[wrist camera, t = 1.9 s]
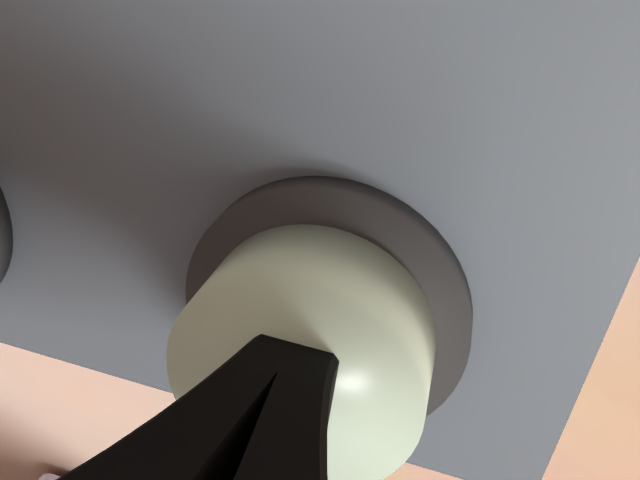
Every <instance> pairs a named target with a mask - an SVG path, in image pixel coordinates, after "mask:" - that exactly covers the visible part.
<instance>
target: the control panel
mask: <svg viewBox="0 0 640 480" xmlns="http://www.w3.org/2000/svg"><path fill="white" fill-rule="evenodd" d="M296 224H309V225H321V226H327V227H332V228H336V229H340V230H343V231H346V232H350V233H352V234H355V235H357V236H359V237H362V238H364V239H366V240H368V241H370V242H371V243H373V244H375V245H377V246H378V247H380V248H381V249H383V250H384V251H386V252H387V253H388V254H390V255H391V256H392V257H394V258H395V259H396V260H397V261H398V262H399V263H400V264H401V265H402V266H403V267H404V268H405V269H406V270H407V271H408V272H409V273H410V274H411V276H412V277H413V278H414V279H415V280H416V282H417V283H418V285H419V287H420V288H421V290H422V291H423V293H424V294H425V297H426V299H427V301H428V303H429V305H430V308H431V311H432V314H433V317H434V321H435V327H436V334H437V339H436V353H435V360H434V366H433V373H432V379H431V385H430V392H429V398H428V404H427V411H426V417H425V423H424V428H423V432H422V435H421V437H420V440H419V442H418V445H417V446H416V448H415V450H414V451H413V453H412V454H411V456H410V457H409V458H408V459H407V460H406V461H405V462H407V463H410V464H413V465H417V466H420V467H423V468H427V469H430V470H434V471H437V472H440V473H444V474H447V475H450V476H454V477H457V478H461V479H464V480H541V479H542V477H543V475H544V473H545V470H546V468H547V466H548V464H549V461H550V459H551V457H552V454H553V452H554V450H555V448H556V445H557V443H558V441H559V439H560V436H561V434H562V432H563V429H564V427H565V425H566V423H567V420H568V418H569V416H570V414H571V411H572V409H573V407H574V404H575V402H576V400H577V398H578V395H579V393H580V391H581V388H582V386H583V384H584V382H585V379H586V377H587V375H588V373H589V370H590V368H591V366H592V363H593V361H594V359H595V357H596V354H597V352H598V350H599V348H600V345H601V343H602V341H603V338H604V336H605V334H606V332H607V329H608V327H609V325H610V323H611V320H612V318H613V316H614V313H615V311H616V309H617V307H618V304H619V302H620V300H621V298H622V295H623V293H624V291H625V288H626V286H627V284H628V282H629V279H630V277H631V275H632V272H633V270H634V268H635V266H636V263H637V261H638V259H639V257H640V0H0V342H1V343H4V344H8V345H11V346H15V347H18V348H21V349H25V350H28V351H31V352H35V353H38V354H42V355H45V356H48V357H52V358H55V359H58V360H62V361H65V362H69V363H72V364H75V365H79V366H82V367H86V368H89V369H92V370H96V371H99V372H102V373H106V374H109V375H113V376H116V377H119V378H123V379H126V380H129V381H133V382H136V383H140V384H143V385H146V386H150V387H153V388H156V389H160V390H163V391H167V392H170V393H173V392H172V389H171V386H170V383H169V378H168V374H167V366H166V350H167V343H168V339H169V335H170V331H171V329H172V327H173V325H174V322H175V320H176V319H177V317H178V316H179V314H180V313H181V311H182V310H183V309H184V307H185V306H186V305H187V304H188V303H189V301H190V300H191V299H192V298H193V296H194V295H195V294H196V293H197V292H198V290H199V289H200V288H201V287H202V286H203V284H204V283H205V282H206V281H207V280H208V278H209V277H210V276H211V275H212V274H213V272H214V271H215V270H216V269H217V268H218V266H219V265H220V264H221V263H222V262H223V260H224V259H225V258H226V257H227V256H228V255H229V254H230V253H231V252H232V251H233V250H234V248H235V247H237V246H238V245H239V244H241V243H242V242H243V241H245V240H246V239H248V238H250V237H252V236H254V235H256V234H257V233H260V232H263V231H265V230H268V229H271V228H275V227H280V226H285V225H296Z"/></svg>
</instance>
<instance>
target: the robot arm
mask: <svg viewBox="0 0 640 480" xmlns="http://www.w3.org/2000/svg"><path fill="white" fill-rule="evenodd" d="M338 367H339V360H338V359H337V357H336V356H335V354H334V353H330V352H327V351H323V350H319V349H316V348H312V347H308V346H304V345H301V344H297V343H293V342H290V341H286V340H282V339H279V338H275V337H271V336H267V335H264V334H260V335H258V336H256V337H254V338H253V339H252V340H251V341H249V342H248V343H247V344H246V345H245V346H244V347H242V348H241V349H240V350H239V351H238V352H237V353H235V354H234V355H233V356H232V357H231V358H230V359H228V360H227V361H226V362H225V363H224V364H222V365H221V366H220V367H219V368H217V369H216V370H215V371H214V372H212V373H211V374H210V375H209V376H208V377H206V378H205V379H204V380H203V381H201V382H200V383H199V384H197V385H196V386H195V387H193V388H192V389H191V390H189V391H188V392H187V393H186V394H184V395H183V396H182V397H180V398H179V399H178V400H176V401H175V402H174V403H172V404H171V405H170V406H168V407H167V408H166V409H164V410H163V411H162V412H160V413H159V414H157V415H156V416H155V417H153V418H152V419H150V420H149V421H147V422H146V423H144V424H143V425H141V426H140V427H138V428H137V429H135V430H134V431H133V432H131V433H130V434H128V435H127V436H125V437H124V438H122V439H121V440H119V441H118V442H116V443H115V444H113V445H112V446H110V447H109V448H107V449H106V450H104V451H102V452H101V453H99V454H98V455H96V456H94V457H93V458H91V459H90V460H88V461H86V462H85V463H83V464H81V465H80V466H78V467H76V468H75V469H73V470H71V471H70V472H68V473H66V474H64V475H63V476H58V475H55V474H50V473H46V474H43V475H42V476H41V477H40V478H39V479H38V480H328V475H327V428H328V422H329V417H330V411H331V406H332V400H333V394H334V389H335V383H336V378H337V372H338Z"/></svg>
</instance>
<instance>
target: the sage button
mask: <svg viewBox="0 0 640 480" xmlns="http://www.w3.org/2000/svg"><path fill="white" fill-rule="evenodd" d="M260 334H264V335H267V336H271V337H275V338H279V339H282V340H286V341H290V342H293V343H297V344H301V345H304V346H308V347H312V348H316V349H319V350H323V351H327V352H330V353H334V354H335V356H336V357H337V359H338V360H339V367H338V372H337V378H336V383H335V389H334V394H333V400H332V406H331V411H330V417H329V422H328V428H327V475H328V480H382V479H383V478H385V477H387V476H388V475H390V474H392V473H393V472H394V471H396V470H397V469H398V468H399V467H401V466H402V465H403V464H404V463H405V461H406V460H407V459H408V458H409V457H410V456H411V454H412V453H413V451H414V450H415V448H416V446H417V445H418V442H419V440H420V437H421V435H422V432H423V428H424V423H425V417H426V411H427V404H428V398H429V392H430V385H431V379H432V373H433V366H434V360H435V353H436V339H437V334H436V327H435V321H434V317H433V314H432V311H431V308H430V305H429V303H428V301H427V299H426V297H425V294H424V293H423V291H422V290H421V288H420V287H419V285H418V283H417V282H416V280H415V279H414V278H413V277H412V276H411V274H410V273H409V272H408V271H407V270H406V269H405V268H404V267H403V266H402V265H401V264H400V263H399V262H398V261H397V260H396V259H395V258H394V257H392V256H391V255H390V254H388V253H387V252H386V251H384V250H383V249H381V248H380V247H378V246H377V245H375V244H373V243H371V242H370V241H368V240H366V239H364V238H362V237H359V236H357V235H355V234H352V233H350V232H346V231H343V230H340V229H336V228H332V227H327V226H321V225H309V224H296V225H285V226H280V227H275V228H271V229H268V230H265V231H263V232H260V233H257V234H256V235H254V236H252V237H250V238H248V239H246V240H245V241H243V242H242V243H241V244H239V245H238V246H237V247H235V248H234V250H233V251H232V252H231V253H230V254H229V255H228V256H227V257H226V258H225V259H224V260H223V262H222V263H221V264H220V265H219V266H218V268H217V269H216V270H215V271H214V272H213V274H212V275H211V276H210V277H209V278H208V280H207V281H206V282H205V283H204V284H203V286H202V287H201V288H200V289H199V290H198V292H197V293H196V294H195V295H194V296H193V298H192V299H191V300H190V301H189V303H188V304H187V305H186V306H185V307H184V309H183V310H182V311H181V313H180V314H179V316H178V317H177V319H176V320H175V322H174V325H173V327H172V329H171V331H170V335H169V339H168V343H167V350H166V366H167V374H168V378H169V383H170V386H171V389H172V392H173V394H174V397H175V399H176V400H178V399H179V398H180V397H182V396H183V395H184V394H186V393H187V392H188V391H189V390H191V389H192V388H193V387H195V386H196V385H197V384H199V383H200V382H201V381H203V380H204V379H205V378H206V377H208V376H209V375H210V374H211V373H212V372H214V371H215V370H216V369H217V368H219V367H220V366H221V365H222V364H224V363H225V362H226V361H227V360H228V359H230V358H231V357H232V356H233V355H234V354H235V353H237V352H238V351H239V350H240V349H241V348H242V347H244V346H245V345H246V344H247V343H248V342H249V341H251V340H252V339H253V338H254V337H256V336H258V335H260Z"/></svg>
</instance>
